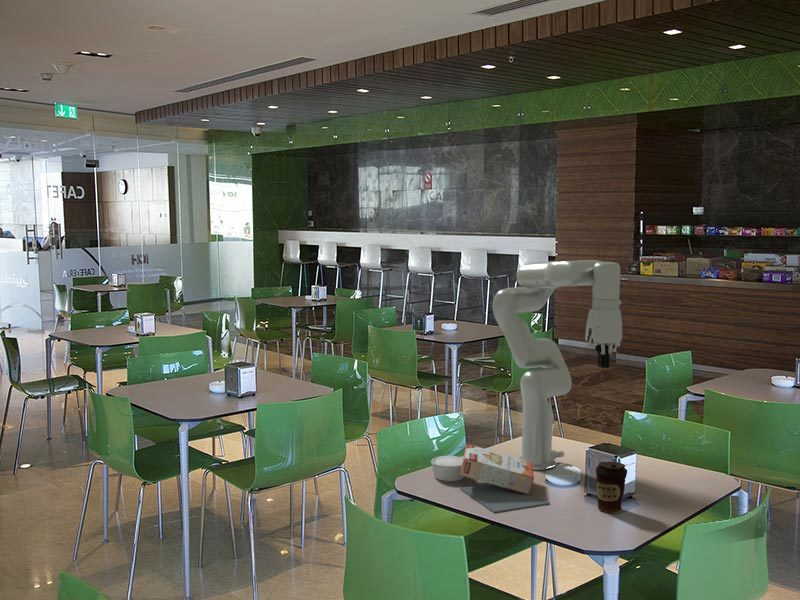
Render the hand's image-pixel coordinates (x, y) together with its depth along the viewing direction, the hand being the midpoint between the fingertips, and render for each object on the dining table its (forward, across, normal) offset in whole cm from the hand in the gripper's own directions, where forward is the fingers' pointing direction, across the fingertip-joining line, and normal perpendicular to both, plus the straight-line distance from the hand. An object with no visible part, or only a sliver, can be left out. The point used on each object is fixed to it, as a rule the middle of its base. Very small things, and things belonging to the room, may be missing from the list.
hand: (603, 367), depth 228 cm
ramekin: (+37, +36, -28) cm, 59 cm away
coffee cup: (+37, +7, +14) cm, 40 cm away
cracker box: (+34, +18, -9) cm, 39 cm away
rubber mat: (+37, +29, -6) cm, 47 cm away
